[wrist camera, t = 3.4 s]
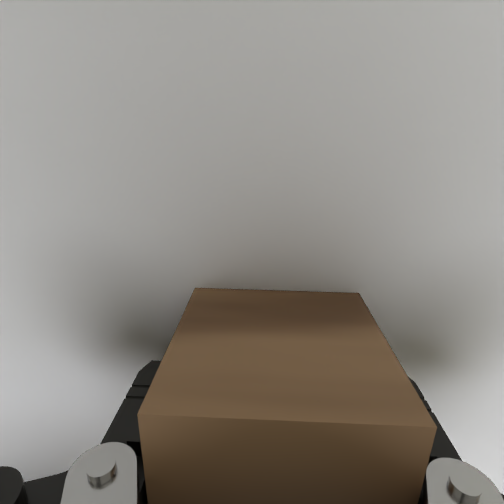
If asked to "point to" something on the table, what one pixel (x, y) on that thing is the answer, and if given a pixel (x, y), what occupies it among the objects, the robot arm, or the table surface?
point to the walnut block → (282, 405)
